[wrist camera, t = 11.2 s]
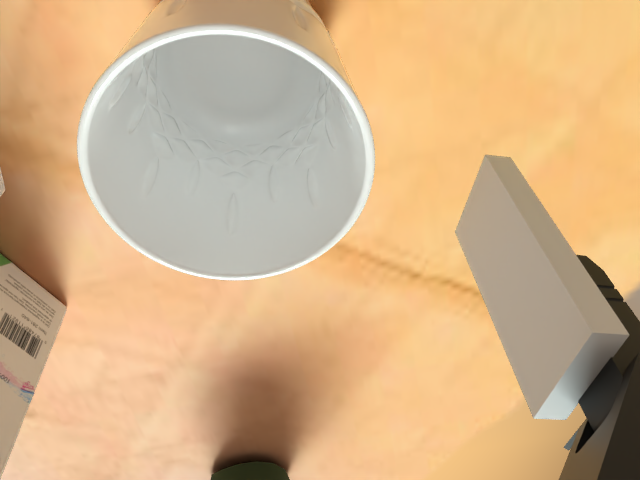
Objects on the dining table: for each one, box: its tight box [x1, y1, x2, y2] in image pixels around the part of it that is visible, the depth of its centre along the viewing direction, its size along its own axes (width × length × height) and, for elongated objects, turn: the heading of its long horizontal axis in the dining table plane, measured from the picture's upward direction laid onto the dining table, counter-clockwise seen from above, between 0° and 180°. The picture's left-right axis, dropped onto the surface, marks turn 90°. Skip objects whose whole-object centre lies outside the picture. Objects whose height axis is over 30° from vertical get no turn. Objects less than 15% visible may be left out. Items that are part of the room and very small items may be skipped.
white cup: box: [77, 0, 375, 280], centre depth 19 cm, size 8×8×10 cm
